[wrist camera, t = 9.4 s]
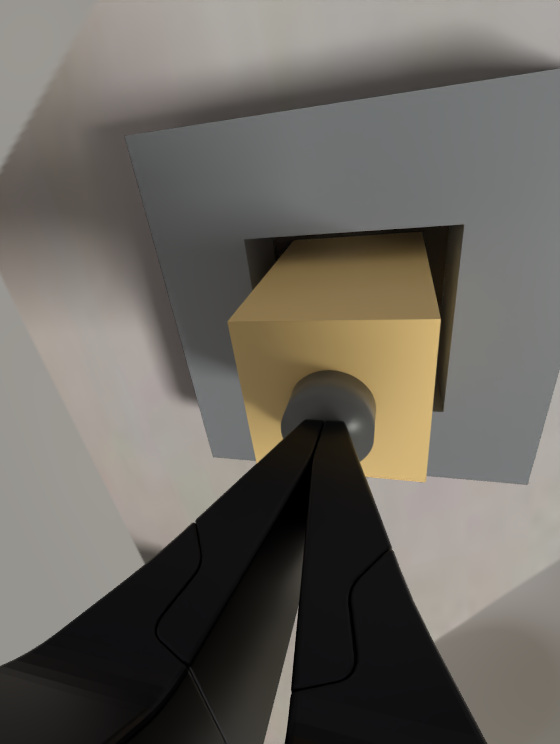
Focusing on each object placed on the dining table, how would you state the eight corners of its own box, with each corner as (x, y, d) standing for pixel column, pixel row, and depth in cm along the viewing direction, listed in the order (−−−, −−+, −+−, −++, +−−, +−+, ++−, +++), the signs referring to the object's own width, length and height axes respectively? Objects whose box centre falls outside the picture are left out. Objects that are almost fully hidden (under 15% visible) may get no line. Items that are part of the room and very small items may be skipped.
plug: (415, 347, 16) (428, 515, 9) (304, 347, 17) (246, 495, 10) (422, 231, 13) (446, 343, 7) (294, 240, 15) (210, 342, 8)
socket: (507, 429, 16) (527, 484, 14) (235, 414, 20) (213, 457, 17) (587, 70, 10) (646, 55, 8) (173, 132, 14) (124, 135, 11)
